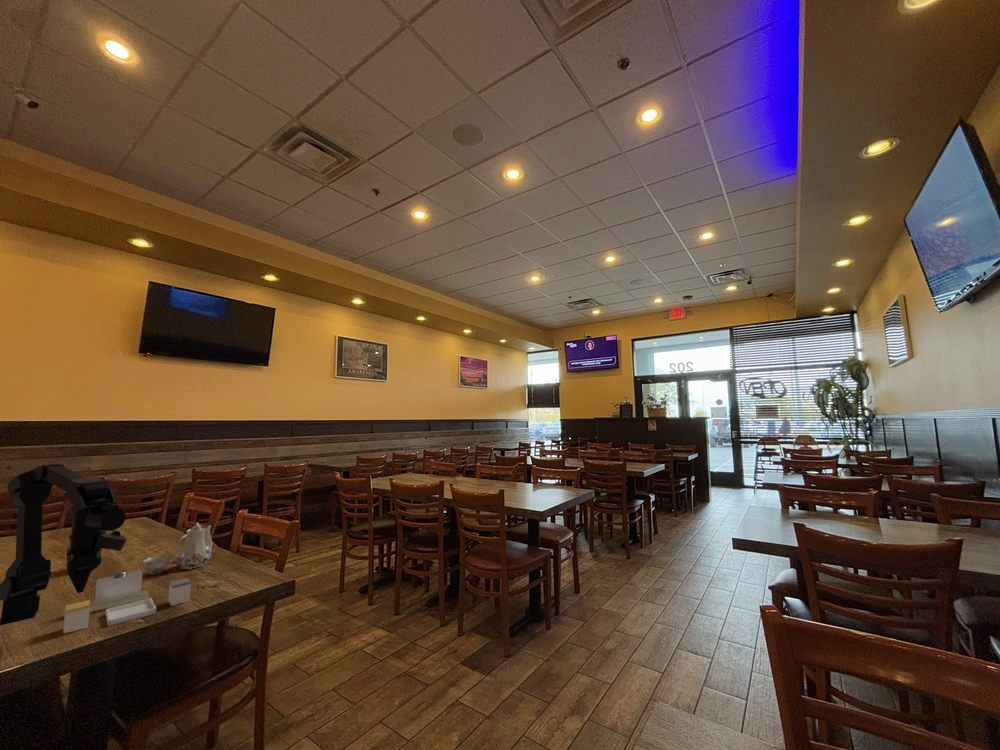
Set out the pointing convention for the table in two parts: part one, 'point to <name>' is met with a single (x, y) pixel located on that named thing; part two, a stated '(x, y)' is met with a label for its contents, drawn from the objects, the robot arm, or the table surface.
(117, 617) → the tray
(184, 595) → the grey cartridge
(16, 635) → the table surface
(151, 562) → the chinaware
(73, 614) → the amber cartridge
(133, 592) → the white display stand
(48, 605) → the table surface
